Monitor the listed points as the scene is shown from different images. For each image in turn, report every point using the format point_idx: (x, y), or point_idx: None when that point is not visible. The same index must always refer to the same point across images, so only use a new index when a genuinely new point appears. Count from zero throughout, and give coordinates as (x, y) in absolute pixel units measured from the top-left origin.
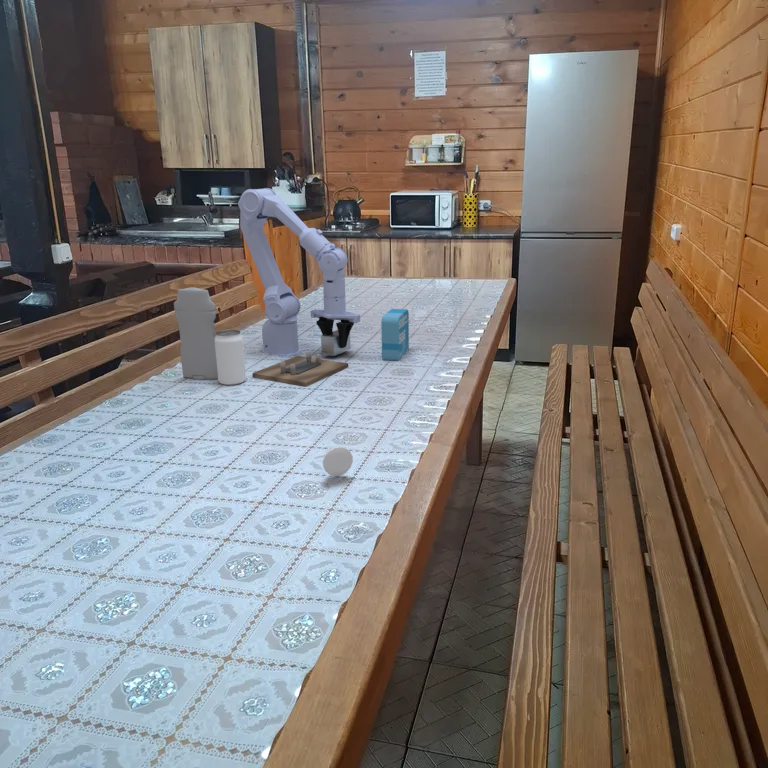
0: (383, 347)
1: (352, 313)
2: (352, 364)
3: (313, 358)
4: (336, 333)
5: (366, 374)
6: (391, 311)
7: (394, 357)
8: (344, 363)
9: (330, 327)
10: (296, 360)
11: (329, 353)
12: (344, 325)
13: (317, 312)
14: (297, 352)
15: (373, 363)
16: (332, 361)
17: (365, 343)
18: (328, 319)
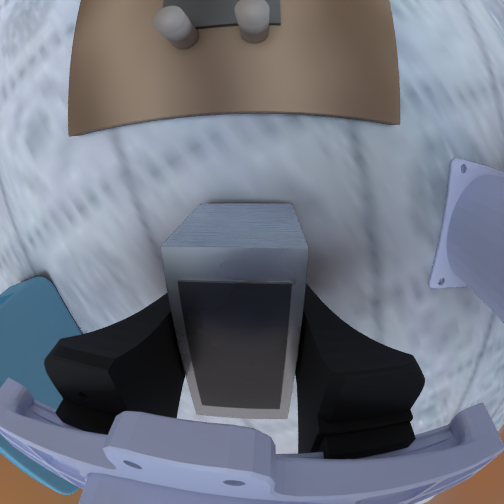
0: (8, 296)
1: (67, 479)
2: (90, 181)
3: (281, 103)
4: (221, 351)
5: (7, 115)
6: (13, 461)
7: (14, 285)
8: (79, 124)
9: (301, 399)
10: (343, 36)
11: (230, 205)
12: (50, 351)
13: (442, 472)
14: (442, 229)
15: (50, 238)
16: (143, 112)
17: (249, 422)
18: (317, 451)
